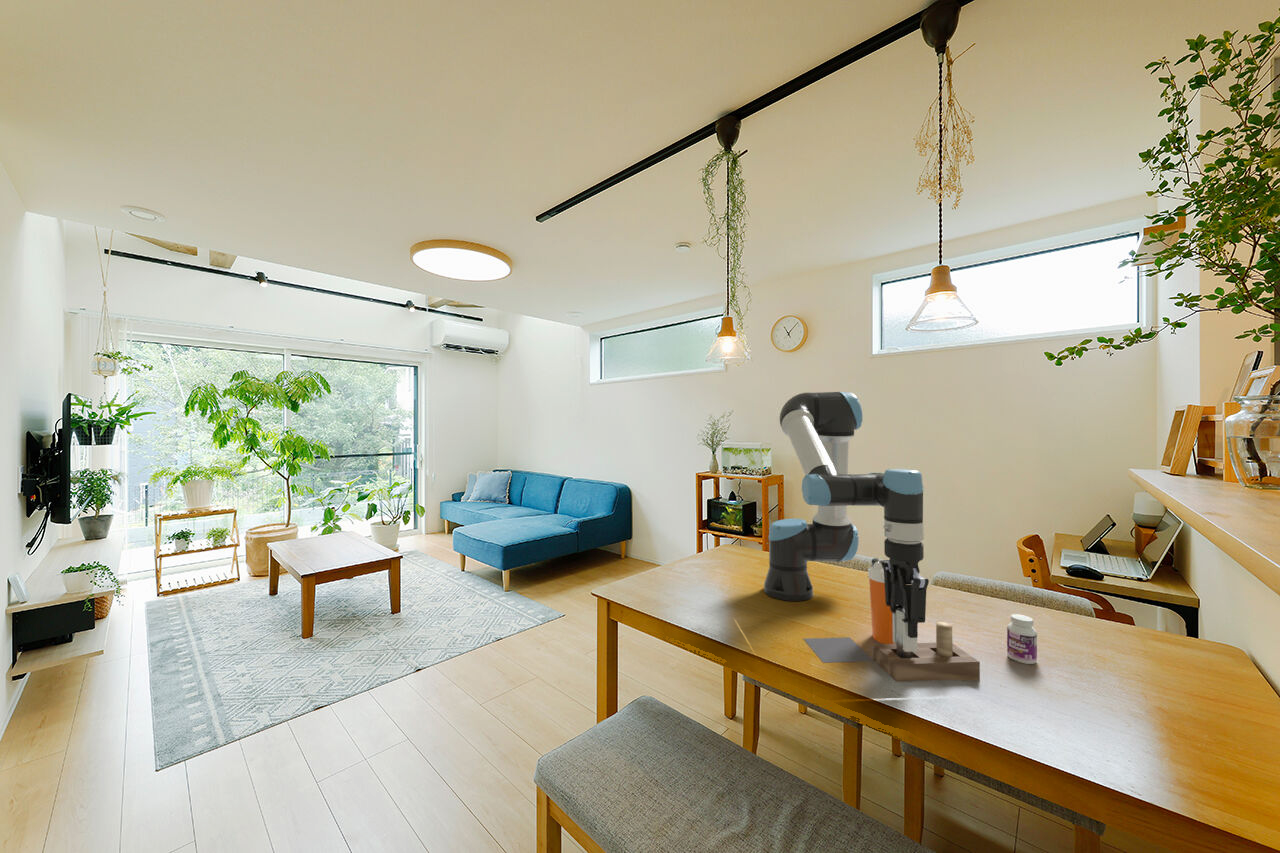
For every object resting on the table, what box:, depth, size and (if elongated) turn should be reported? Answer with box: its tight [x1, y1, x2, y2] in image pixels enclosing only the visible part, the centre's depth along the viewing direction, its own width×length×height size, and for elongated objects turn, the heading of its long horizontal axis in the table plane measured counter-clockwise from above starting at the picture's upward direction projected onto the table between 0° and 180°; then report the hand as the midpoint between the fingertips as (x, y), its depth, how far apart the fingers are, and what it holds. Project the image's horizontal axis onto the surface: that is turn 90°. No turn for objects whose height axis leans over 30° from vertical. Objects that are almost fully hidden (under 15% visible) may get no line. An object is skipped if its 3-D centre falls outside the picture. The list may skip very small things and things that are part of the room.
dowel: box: [935, 621, 953, 657], centre depth 104 cm, size 3×3×10 cm
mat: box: [803, 636, 875, 664], centre depth 113 cm, size 12×12×1 cm
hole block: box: [873, 642, 981, 683], centre depth 104 cm, size 9×18×4 cm, turn 92°
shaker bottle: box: [867, 557, 908, 644], centre depth 118 cm, size 9×9×20 cm
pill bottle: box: [1006, 613, 1038, 665], centre depth 108 cm, size 5×5×10 cm
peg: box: [896, 608, 913, 658], centre depth 103 cm, size 3×3×12 cm
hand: (904, 646), depth 103 cm, fingers closed on peg, 3 cm apart
